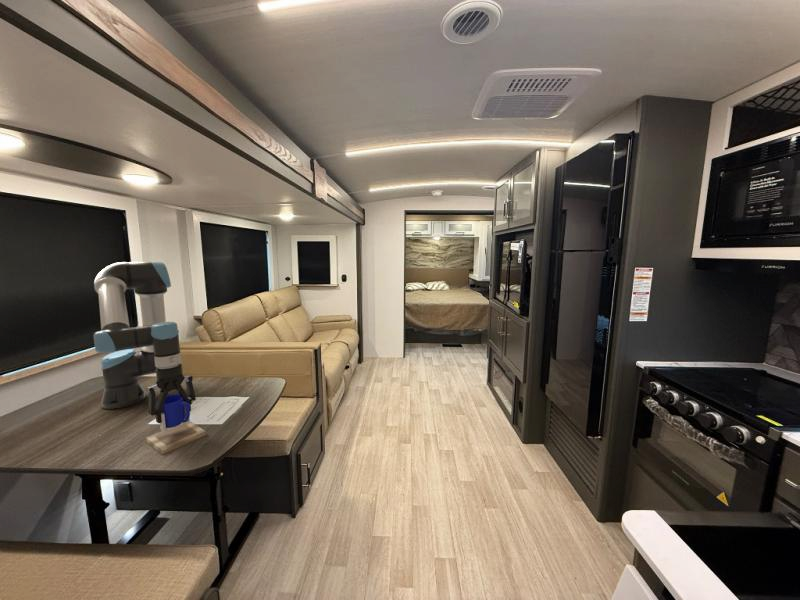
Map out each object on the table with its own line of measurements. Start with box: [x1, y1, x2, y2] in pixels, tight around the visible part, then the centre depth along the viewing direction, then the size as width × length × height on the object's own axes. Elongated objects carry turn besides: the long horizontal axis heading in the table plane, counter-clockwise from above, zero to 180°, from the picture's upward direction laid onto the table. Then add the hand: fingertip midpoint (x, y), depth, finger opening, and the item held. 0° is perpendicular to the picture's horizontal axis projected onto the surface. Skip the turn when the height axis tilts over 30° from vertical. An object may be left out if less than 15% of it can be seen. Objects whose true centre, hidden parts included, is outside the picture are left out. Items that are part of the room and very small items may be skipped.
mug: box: [155, 393, 191, 429], centre depth 114 cm, size 8×12×10 cm
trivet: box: [145, 420, 207, 455], centre depth 115 cm, size 14×14×2 cm
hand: (175, 425), depth 114 cm, fingers closed on mug, 7 cm apart
